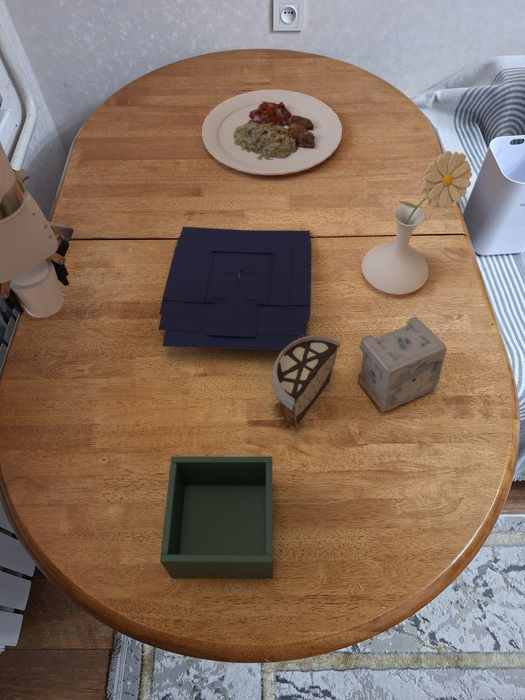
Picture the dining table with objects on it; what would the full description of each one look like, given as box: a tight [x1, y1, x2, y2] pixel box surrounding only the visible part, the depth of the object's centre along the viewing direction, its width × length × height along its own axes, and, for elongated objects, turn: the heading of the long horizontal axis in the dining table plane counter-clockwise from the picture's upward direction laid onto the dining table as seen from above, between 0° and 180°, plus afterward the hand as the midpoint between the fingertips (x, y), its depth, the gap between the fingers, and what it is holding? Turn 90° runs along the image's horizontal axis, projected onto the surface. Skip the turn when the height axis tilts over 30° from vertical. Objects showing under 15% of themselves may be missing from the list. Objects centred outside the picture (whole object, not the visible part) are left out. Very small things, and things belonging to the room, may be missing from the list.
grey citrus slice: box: [271, 335, 341, 429], centre depth 79 cm, size 12×6×10 cm, turn 145°
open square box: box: [159, 456, 274, 580], centre depth 68 cm, size 13×13×8 cm
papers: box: [158, 226, 312, 352], centre depth 93 cm, size 24×30×4 cm
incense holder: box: [357, 316, 448, 413], centre depth 79 cm, size 10×8×10 cm
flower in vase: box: [360, 150, 473, 295], centre depth 86 cm, size 13×11×25 cm
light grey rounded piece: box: [10, 258, 65, 319], centre depth 79 cm, size 7×7×7 cm
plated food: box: [201, 89, 343, 176], centre depth 118 cm, size 30×30×3 cm
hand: (39, 293), depth 81 cm, fingers closed on light grey rounded piece, 6 cm apart
